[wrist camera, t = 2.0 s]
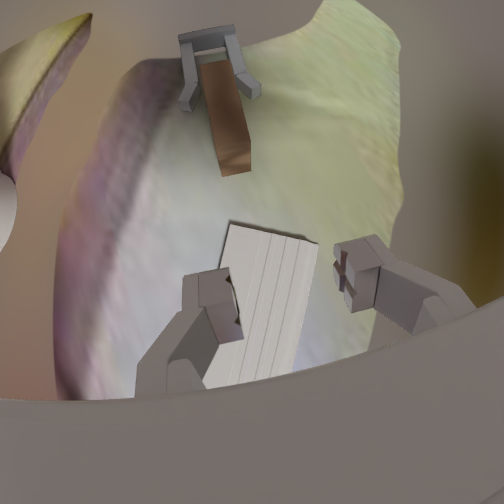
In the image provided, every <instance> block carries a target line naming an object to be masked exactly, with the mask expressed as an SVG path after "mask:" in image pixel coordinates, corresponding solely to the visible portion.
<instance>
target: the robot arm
mask: <svg viewBox="0 0 504 504" xmlns="http://www.w3.org/2000/svg"><path fill="white" fill-rule="evenodd" d="M16 212H17V192H16V187H15V185H14V183H13V181H12V180H11V178H10V177H8V176H6V175H4V174H2V172H1V170H0V252H1V250H2V249H3V247H4V245H5V244H6V242H7V240H8V238H9V236H10V234H11V231H12V229H13V225H14V222H15V218H16ZM333 254H334V256H335V258H336V259H337V260H336V261H335V263H334V264H333V273H334V278H335V282H336V285H337V287H338V289H339V291H341V292H343V293H344V301H345V303H346V305H347V307H348V309H349V311H350V312H351V313H355V312H358V311H362V310H366V309H370V308H374V309H375V310H377V311H378V312H380V313H381V314H383V315H384V316H385V317H387V318H388V319H390V320H391V321H393V322H394V323H396V324H397V325H399V326H400V327H402V328H403V329H405V330H406V331H407V332H409V333H410V334H412V336H411V337H408V338H405V339H403V340H400V341H397V342H394V343H391V344H389V345H386V346H383V347H380V348H377V349H374V350H371V351H367V352H364V353H361V354H358V355H355V356H351V357H348V358H345V359H341V360H338V361H334V362H331V363H327V364H323V365H320V366H316V367H312V368H308V369H304V370H300V371H296V372H292V373H288V374H284V375H279V376H275V377H270V378H266V379H261V380H256V381H251V382H246V383H241V384H235V385H230V386H224V387H218V388H212V389H206V387H205V385H204V383H203V382H202V380H203V378H204V376H205V374H206V372H207V370H208V368H209V366H210V364H211V362H212V360H213V358H214V356H215V354H216V352H217V350H218V348H219V345H220V344H225V343H230V342H234V341H238V340H243V339H244V333H243V327H242V322H241V318H240V310H239V304H238V299H237V295H236V291H235V287H234V286H233V281H232V275H231V272H230V268H229V267H225V268H220V269H214V270H209V271H204V272H199V273H194V274H189V275H184V277H183V285H182V311H180V312H177V313H176V315H175V316H174V317H173V318H172V320H171V321H170V322H169V324H168V325H167V326H166V328H165V329H164V330H163V331H162V333H161V334H160V335H159V337H158V338H157V339H156V341H155V342H154V343H153V344H152V346H151V347H150V348H149V350H148V351H147V352H146V354H145V355H144V356H143V358H142V359H141V360H140V362H139V363H138V364H137V374H136V386H135V398H124V399H108V400H79V401H45V400H19V399H5V398H0V504H504V296H503V297H501V298H499V299H497V300H495V301H493V302H491V303H489V304H487V305H484V306H482V307H480V308H478V309H477V308H476V307H475V306H474V304H473V303H472V302H471V301H470V299H469V298H468V297H467V295H466V294H465V293H464V292H463V290H462V289H461V288H460V287H459V286H458V285H456V284H454V283H452V282H450V281H447V280H445V279H443V278H441V277H439V276H436V275H434V274H432V273H430V272H427V271H425V270H423V269H420V268H418V267H416V266H413V265H411V264H409V263H407V262H404V261H398V260H397V259H396V258H395V256H394V255H393V254H392V253H391V251H390V250H389V249H388V248H387V246H386V245H385V244H384V243H383V242H382V240H381V239H380V238H379V237H378V236H377V235H376V234H373V235H369V236H365V237H362V238H358V239H354V240H350V241H345V242H341V243H337V244H334V249H333Z"/></svg>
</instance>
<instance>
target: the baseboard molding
mask: <svg viewBox="0 0 504 504" xmlns="http://www.w3.org/2000/svg"><path fill="white" fill-rule="evenodd" d="M318 247H319V245H317V244H313V243H310V242H308V241H304V240H299V239H295V238H291V237H286V236H281V235H277V234H273V233H268V232H263V231H259V230H255V229H250V228H245V227H241V226H236V225H231V224H230V227H229V231H228V236H227V240H226V244H225V248H224V252H223V256H222V261H221V265H220V268H225V267H229V268H230V272H231V275H232V281H233V286H234V287H235V291H236V295H237V299H238V304H239V310H240V318H241V322H242V327H243V333H244V339H243V340H238V341H234V342H230V343H225V344H220V345H219V348H218V350H217V352H216V354H215V356H214V358H213V360H212V362H211V364H210V366H209V368H208V370H207V372H206V374H205V376H204V378H203V380H202V382H203V383H204V385H205V387H206V389H212V388H218V387H224V386H230V385H235V384H241V383H246V382H251V381H256V380H261V379H266V378H270V377H275V376H279V375H284V374H288V373H291V371H292V367H293V363H294V359H295V355H296V351H297V346H298V342H299V338H300V334H301V329H302V325H303V321H304V316H305V312H306V307H307V302H308V298H309V293H310V288H311V283H312V278H313V273H314V268H315V263H316V258H317V253H318Z"/></svg>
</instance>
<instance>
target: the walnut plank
mask: <svg viewBox="0 0 504 504" xmlns="http://www.w3.org/2000/svg"><path fill="white" fill-rule="evenodd" d="M200 70H201V76H202V81H203V87H204V92H205V97H206V103H207V108H208V113H209V119H210V124H211V129H212V134H213V139H214V144H215V149H216V153H217V157H218V161H219V165H220V170H221V174H222V177H225V176H229V175H234V174H239V173H244V172H249V171H251V140H250V136H249V132H248V128H247V124H246V120H245V116H244V112H243V108H242V105H241V101H240V97H239V93H238V89H237V85H236V82H235V78H234V74H233V70H232V67H231V63H230V59H229V60H223V61H218V62H213V63H208V64H203V65H200Z"/></svg>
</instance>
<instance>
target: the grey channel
mask: <svg viewBox="0 0 504 504" xmlns="http://www.w3.org/2000/svg"><path fill="white" fill-rule="evenodd" d="M178 39H179V43H180V49H181V58H182V65H183V72H184V80H185V86H184V88H183V90H182V92H181V94H180V96H179V98H178V103H179V106H180V109H181V110H182V111H188V112H192V110H193V108H194V106H195V104H196V102H197V100H198V97H199V95H200V92H201V91H200V85H199V80H198V74H197V68H196V62H195V57H194V52H198V51H203V50H208V49H213V48H219V47H225V48H226V52H227V55H228V59H230V63H231V67H232V70H233V74H234V78H235V82H236V85H237V87H238V88H239V89H240V90H241V91H242V92H243V93H244V94H245V95H247V96H248V97H249V98H250V99H251V100H253V99H255V98H256V97H258V96H259V95H261V83H259V82H258V81H257V80H256V79H255V78H253V77H252V76H251V75H250V74H249V73H248V72H247V69H246V66H245V62H244V59H243V56H242V53H241V49H240V46H239V43H238V40H237V37H236V32H235V27H234V24H232V25H226V26H219V27H213V28H208V29H203V30H198V31H193V32H189V33H184V34H180V35H178Z"/></svg>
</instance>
